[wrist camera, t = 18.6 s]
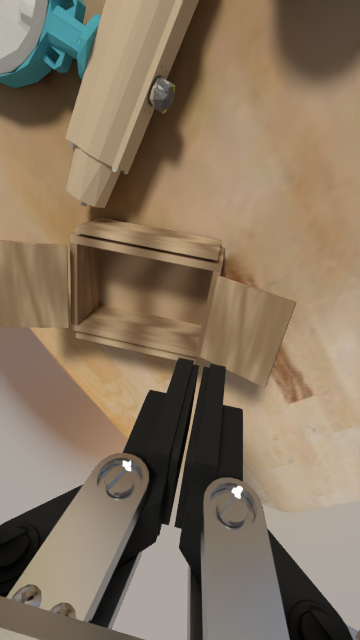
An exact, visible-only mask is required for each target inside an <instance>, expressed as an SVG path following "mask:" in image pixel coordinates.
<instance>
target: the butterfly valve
mask: <svg viewBox="0 0 360 640" xmlns="http://www.w3.org/2000/svg"><path fill="white" fill-rule="evenodd" d="M198 1H199V0H106V2H105V5H104V9H103V12H102V15H96V14H95V15H94V17H93V18H92V19H91V20H90V21H89V22H88V23H87V24H86V26H85V25H83V19H84V14H85V9H86V7H85V5H84V3H83V1H82V0H0V83H2V84H5V85H7V86H10V87H13V88H18V87H22V86H26V85H30V84H33V83H37V82H38V81H39V80H41V79H42V78H43V77H44V76H46V75H47V74H48V73H49V72H51V70H52V68H53V69H54V70H56V71H58V72H59V73H66V72H68V71H69V69H70V66H71V63H72V60H73V58H74V59H76V60H77V63H78V73H79V76H80V78H81V80H82V83H81V86H80V90H79V93H78V97H77V100H76V103H75V107H74V110H73V113H72V117H71V120H70V124H69V127H68V130H67V134H66V137H65V138H66V139H67V140H69V141H70V146H72V147H73V160H72V165H71V169H70V174H69V179H68V183H67V188H66V191H67V192H68V193H70V194H71V195H72V196H74V197H75V198H76V199H78V200H79V201H81V202H82V204H81V205H83V206H87V204H88V205H91V206H93V207H99V208H105V206H106V204H107V202H108V199H109V197H110V195H111V193H112V190H113V188H114V186H115V184H116V181H117V179H118V177H119V175H120V172H121V170H122V172H123V173H124V174H128V172H129V170H130V168H131V165H132V163H133V160H134V158H135V155H136V153H137V151H138V148H139V146H140V143H141V141H142V138H143V136H144V133H145V131H146V129H147V126H148V124H149V121H150V119H151V116H152V114H153V111H154V109H156V110H158V111H159V112H161V113H162V114H165V112H166V111H167V110H168V109H169V108H170V106H171V105H172V104H173V101H174V93H175V85H174V84H172V83H171V82H169V81H168V80H167V77H168V75H169V72H170V70H171V67H172V65H173V63H174V60H175V58H176V55H177V53H178V50H179V48H180V45H181V43H182V41H183V38H184V36H185V33H186V31H187V28H188V26H189V23H190V21H191V19H192V16H193V14H194V11H195V9H196V6H197V4H198ZM73 4H74V6H73Z"/></svg>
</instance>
